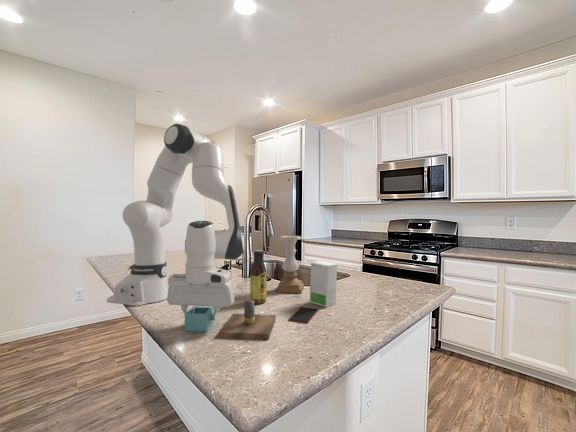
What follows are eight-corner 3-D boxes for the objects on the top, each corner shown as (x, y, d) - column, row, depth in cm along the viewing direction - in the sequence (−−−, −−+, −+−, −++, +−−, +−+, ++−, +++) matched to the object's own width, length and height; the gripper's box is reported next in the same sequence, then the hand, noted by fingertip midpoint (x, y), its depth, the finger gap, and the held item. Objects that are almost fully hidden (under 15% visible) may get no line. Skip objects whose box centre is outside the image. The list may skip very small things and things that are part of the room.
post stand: (218, 337, 78) (218, 308, 78) (233, 318, 92) (233, 293, 92) (268, 339, 77) (268, 310, 76) (275, 319, 91) (275, 295, 90)
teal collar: (184, 331, 82) (184, 314, 82) (193, 322, 88) (193, 306, 88) (206, 331, 81) (206, 314, 81) (214, 322, 88) (214, 306, 88)
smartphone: (319, 309, 100) (307, 323, 87) (319, 310, 100) (307, 325, 87) (300, 306, 103) (286, 320, 90) (300, 308, 103) (286, 322, 90)
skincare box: (309, 302, 107) (309, 262, 107) (319, 298, 112) (319, 260, 112) (327, 307, 102) (327, 265, 101) (337, 303, 107) (337, 262, 106)
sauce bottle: (263, 305, 104) (263, 252, 104) (247, 304, 106) (247, 251, 105) (268, 299, 111) (268, 249, 111) (253, 298, 112) (253, 249, 112)
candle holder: (304, 287, 130) (304, 235, 129) (301, 293, 119) (301, 237, 118) (280, 285, 132) (281, 235, 131) (275, 292, 121) (276, 237, 120)
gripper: (162, 275, 83) (163, 322, 83) (230, 277, 81) (230, 324, 81) (173, 271, 89) (173, 314, 90) (236, 272, 88) (236, 316, 88)
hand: (201, 319), depth 86 cm, fingers closed on teal collar, 7 cm apart
